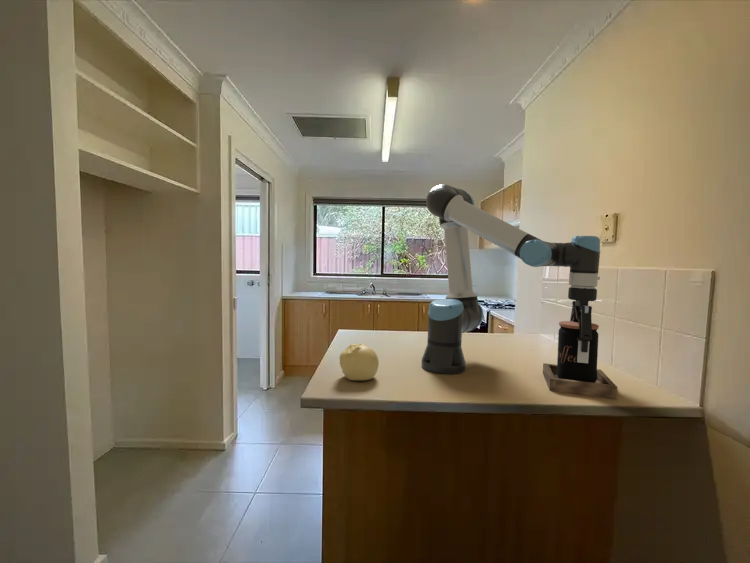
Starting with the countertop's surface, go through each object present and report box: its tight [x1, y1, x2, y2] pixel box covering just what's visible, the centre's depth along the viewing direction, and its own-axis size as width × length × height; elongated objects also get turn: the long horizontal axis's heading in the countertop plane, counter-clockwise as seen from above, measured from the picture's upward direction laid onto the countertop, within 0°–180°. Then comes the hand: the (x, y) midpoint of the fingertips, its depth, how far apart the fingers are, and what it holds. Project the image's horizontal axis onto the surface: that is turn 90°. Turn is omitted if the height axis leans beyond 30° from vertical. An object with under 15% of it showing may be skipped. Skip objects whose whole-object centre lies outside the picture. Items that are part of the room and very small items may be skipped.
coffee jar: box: [556, 320, 600, 383], centre depth 110 cm, size 11×11×18 cm
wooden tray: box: [542, 362, 618, 400], centre depth 111 cm, size 17×17×4 cm
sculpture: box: [339, 343, 379, 381], centre depth 111 cm, size 11×12×11 cm
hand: (577, 357), depth 110 cm, fingers open, 12 cm apart
